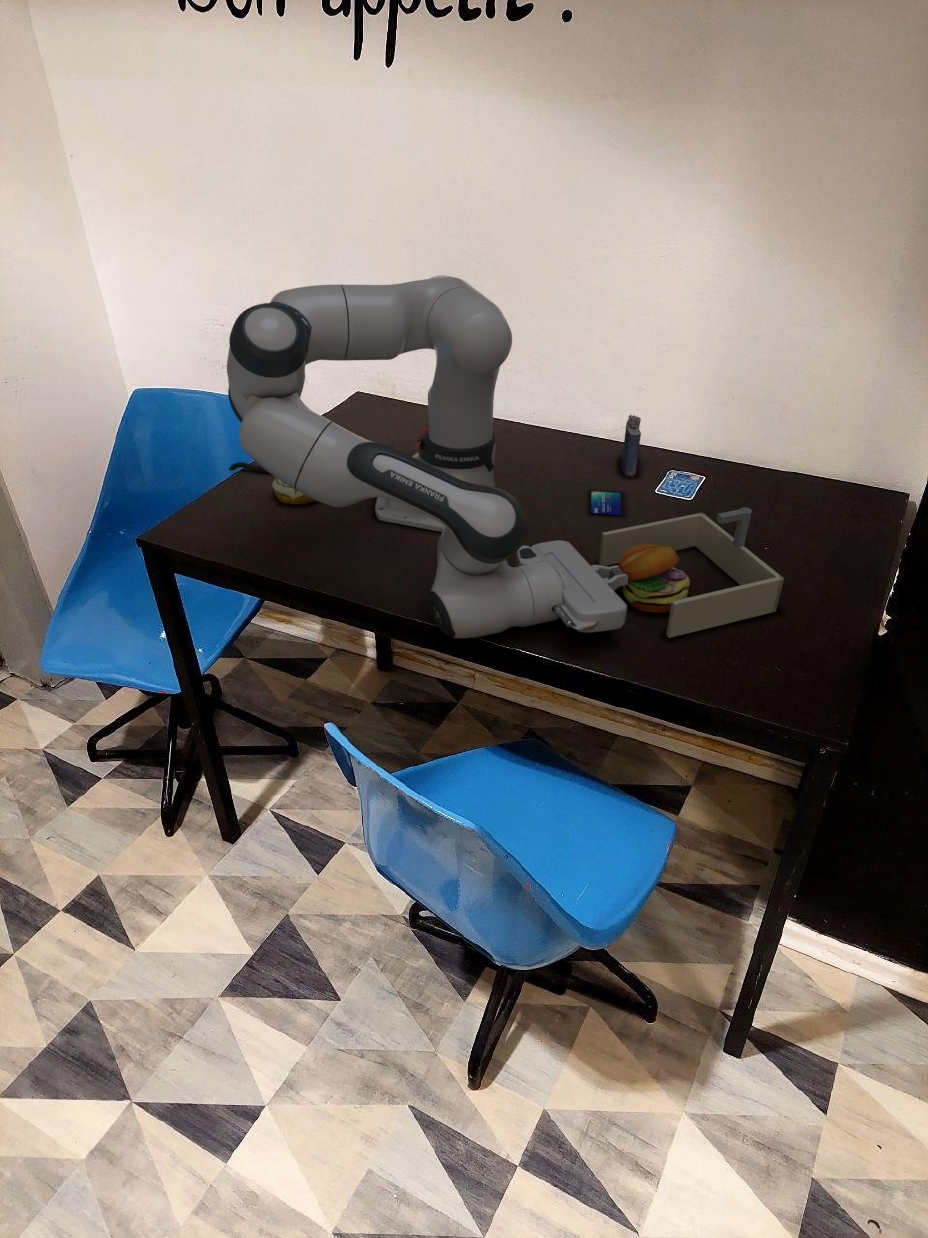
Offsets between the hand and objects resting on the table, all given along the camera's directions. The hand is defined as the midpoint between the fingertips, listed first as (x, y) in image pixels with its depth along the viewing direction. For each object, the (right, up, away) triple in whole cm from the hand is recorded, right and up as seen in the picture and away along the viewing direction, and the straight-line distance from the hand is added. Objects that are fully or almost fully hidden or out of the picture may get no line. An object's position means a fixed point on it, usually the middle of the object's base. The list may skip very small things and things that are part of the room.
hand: (623, 574), depth 133 cm
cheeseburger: (+5, -4, +4) cm, 7 cm away
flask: (+8, +23, +41) cm, 48 cm away
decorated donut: (-54, +17, +32) cm, 65 cm away
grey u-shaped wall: (+10, -2, +6) cm, 12 cm away
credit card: (+2, +14, +29) cm, 32 cm away
